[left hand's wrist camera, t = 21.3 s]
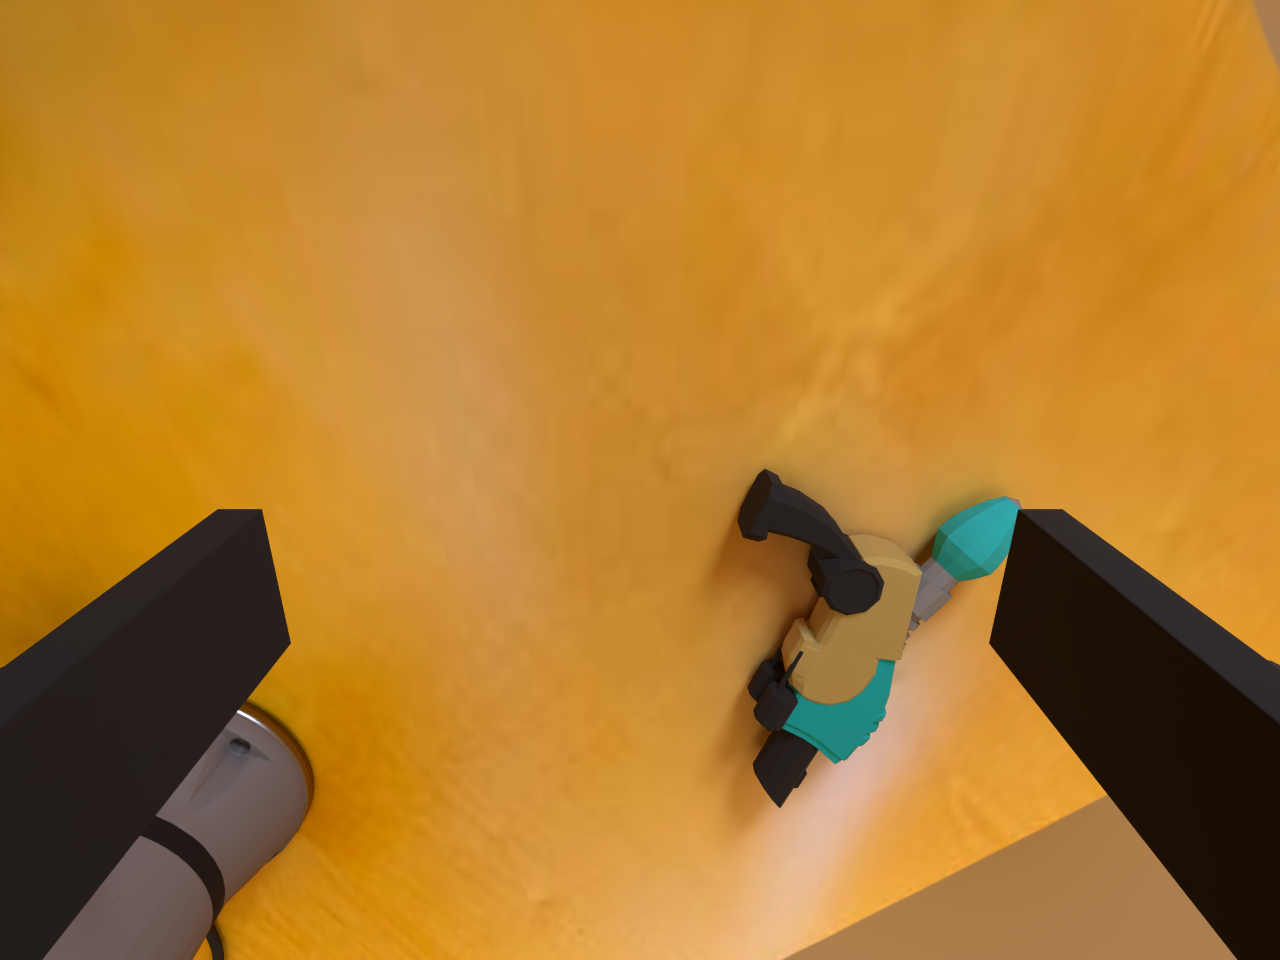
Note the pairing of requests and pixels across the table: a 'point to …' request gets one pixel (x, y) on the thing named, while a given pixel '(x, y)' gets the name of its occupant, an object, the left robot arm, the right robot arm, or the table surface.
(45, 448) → the table surface
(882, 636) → the toy gun
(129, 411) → the table surface
